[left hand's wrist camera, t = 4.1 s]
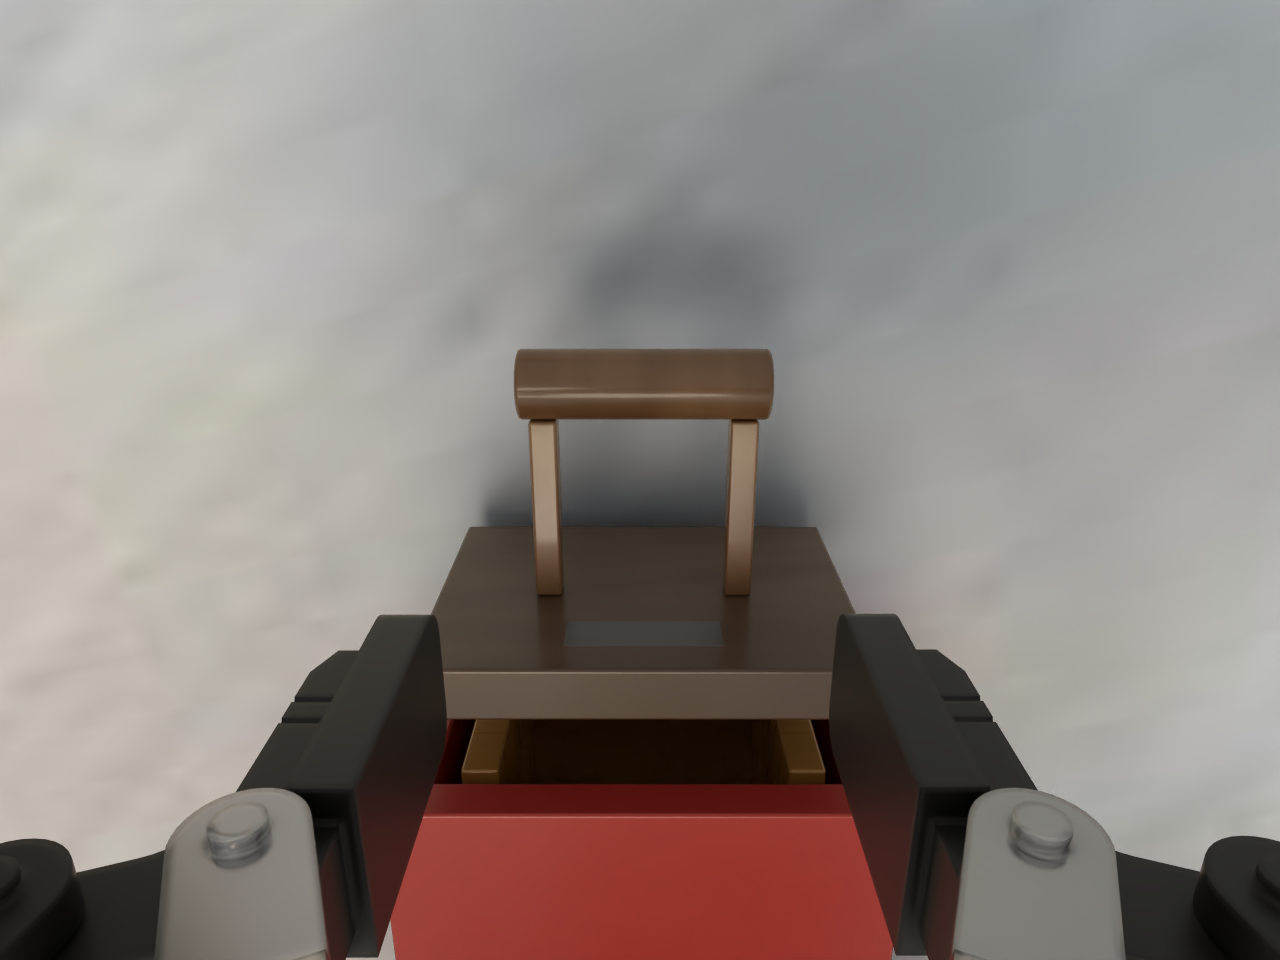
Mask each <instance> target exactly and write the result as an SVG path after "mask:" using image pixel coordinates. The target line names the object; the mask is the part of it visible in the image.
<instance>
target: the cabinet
mask: <svg viewBox="0 0 1280 960" xmlns="http://www.w3.org/2000/svg"><path fill="white" fill-rule="evenodd" d="M475 721H476V719H447V730H446V740H445V747H444V752H443V756H442V759H441V762H440V766H439V769H438V772H437V775H436V778H435V781H434V784H433V787H432V791H431V794H430V797H429V800H428V803H427V806H426V809H425V812H424V816H423V819H422V822H421V825H420V828H419V831H418V834H417V837H416V841H415V844H414V847H413V850H412V853H411V856H410V859H409V862H408V865H407V869H406V872H405V875H404V878H403V881H402V884H401V887H400V890H399V894H398V897H397V900H396V903H395V906H394V909H393V912H392V915H391V919H390V920H391V927H392V935H393V942H394V949H395V957H396V960H891V957H892V950H893V944H892V941H891V938H890V934H889V931H888V928H887V925H886V922H885V918H884V915H883V912H882V909H881V906H880V903H879V899H878V896H877V893H876V890H875V887H874V883H873V880H872V877H871V874H870V871H869V868H868V864H867V861H866V858H865V855H864V852H863V848H862V845H861V842H860V839H859V836H858V833H857V829H856V826H855V823H854V820H853V817H852V813H851V810H850V807H849V804H848V801H847V797H846V794H845V791H844V788H843V785H842V782H841V778H840V775H839V772H838V769H837V766H836V762H835V759H834V756H833V752H832V747H831V741H830V731H829V720H811V723H812V726H813V730H814V733H815V736H816V740H817V743H818V747H819V750H820V753H821V757H822V760H823V764H824V767H825V770H826V775H825V784H462V774H461V770H462V767H463V763H464V760H465V756H466V753H467V749H468V745H469V742H470V738H471V735H472V731H473V728H474V724H475Z"/></svg>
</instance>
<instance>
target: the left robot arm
mask: <svg viewBox="0 0 1280 960" xmlns="http://www.w3.org/2000/svg"><path fill="white" fill-rule="evenodd" d="M446 730H447V709H446V697H445V687H444V676H443V666H442V655H441V644H440V634H439V626H438V622H437V619H436V617H435V616H434V615H380V616H378V618H377V619H376V621H375V623H374V624H373V626H372V628H371V630H370V632H369V633H368V635H367V637H366V639H365V641H364V642H363V644H362V646H361V648H360V650H359V651H338V652H336V653H335V654H334V655H332V656H331V657H330V658H328V659H327V660H326V661H324V662H323V663H322V664H320V665H319V666H318V667H316V668H315V669H314V670H312V671H311V672H310V673H309V675H308V677H307V678H306V680H305V681H304V683H303V685H302V686H301V688H300V689H299V691H298V693H297V694H296V696H295V701H294V702H291V704H290V706H289V707H288V709H287V710H286V712H285V714H284V715H283V717H282V723H278V725H277V727H276V728H275V730H274V731H273V733H272V735H271V736H270V738H269V739H268V741H267V743H266V744H265V746H264V748H263V749H262V751H261V752H260V754H259V756H258V757H257V759H256V760H255V762H254V764H253V765H252V767H251V768H250V770H249V772H248V773H247V775H246V777H245V778H244V780H243V781H242V783H241V785H240V786H239V788H238V789H237V791H236V793H232V794H229V795H226V796H224V797H221V798H219V799H216V800H214V801H212V802H210V803H208V804H207V805H205V806H203V807H202V808H200V809H198V810H197V811H195V812H194V813H193V814H191V815H190V816H189V817H188V818H187V819H185V820H184V821H183V822H182V823H181V824H180V825H179V826H178V827H177V829H176V830H175V831H174V833H173V834H172V836H171V837H170V839H169V841H168V843H167V845H166V849H165V850H163V851H161V852H158V853H155V854H153V855H149V856H145V857H142V858H138V859H134V860H130V861H125V862H121V863H117V864H112V865H108V866H104V867H99V868H95V869H91V870H87V871H82V872H78V873H76V870H75V867H74V864H73V860H72V857H71V855H70V853H69V851H68V850H67V849H66V848H65V847H64V846H63V845H61V844H59V843H57V842H54V841H50V840H46V839H20V840H14V841H8V842H5V843H1V844H0V960H346V957H378V956H379V953H380V950H381V947H382V943H383V940H384V937H385V934H386V931H387V928H388V925H389V922H390V919H391V915H392V912H393V909H394V906H395V903H396V900H397V897H398V894H399V890H400V887H401V884H402V881H403V878H404V875H405V872H406V869H407V865H408V862H409V859H410V856H411V853H412V850H413V847H414V844H415V841H416V837H417V834H418V831H419V828H420V825H421V822H422V819H423V816H424V812H425V809H426V806H427V803H428V800H429V797H430V794H431V791H432V787H433V784H434V781H435V778H436V775H437V772H438V769H439V766H440V762H441V759H442V756H443V752H444V747H445V740H446ZM829 731H830V741H831V747H832V752H833V756H834V759H835V762H836V766H837V769H838V772H839V775H840V778H841V782H842V785H843V788H844V791H845V794H846V797H847V801H848V804H849V807H850V810H851V813H852V817H853V820H854V823H855V826H856V829H857V833H858V836H859V839H860V842H861V845H862V848H863V852H864V855H865V858H866V861H867V864H868V868H869V871H870V874H871V877H872V880H873V883H874V887H875V890H876V893H877V896H878V899H879V903H880V906H881V909H882V912H883V915H884V918H885V922H886V925H887V928H888V931H889V934H890V938H891V941H892V944H893V947H894V950H895V953H896V955H928V958H929V960H1280V842H1279V841H1275V840H1271V839H1267V838H1261V837H1255V836H1233V837H1228V838H1224V839H1221V840H1219V841H1217V842H1215V843H1213V844H1212V845H1211V846H1210V847H1209V848H1208V850H1207V852H1206V854H1205V857H1204V861H1203V864H1202V868H1201V871H1200V872H1199V871H1195V870H1190V869H1186V868H1182V867H1177V866H1173V865H1169V864H1164V863H1160V862H1156V861H1151V860H1147V859H1143V858H1138V857H1134V856H1131V855H1127V854H1123V853H1120V852H1117V851H1115V849H1114V845H1113V843H1112V841H1111V839H1110V837H1109V836H1108V834H1107V833H1106V831H1105V830H1104V829H1103V827H1102V826H1101V825H1100V824H1099V823H1098V822H1097V821H1096V820H1095V819H1093V818H1092V817H1091V816H1090V815H1089V814H1087V813H1086V812H1085V811H1083V810H1082V809H1080V808H1078V807H1077V806H1075V805H1073V804H1072V803H1070V802H1068V801H1066V800H1064V799H1061V798H1059V797H1056V796H1054V795H1051V794H1048V793H1044V792H1041V791H1038V790H1037V788H1036V787H1035V785H1034V784H1033V782H1032V780H1031V779H1030V777H1029V775H1028V774H1027V772H1026V770H1025V769H1024V767H1023V766H1022V764H1021V762H1020V761H1019V759H1018V757H1017V756H1016V754H1015V752H1014V751H1013V749H1012V748H1011V746H1010V744H1009V743H1008V741H1007V739H1006V738H1005V736H1004V734H1003V733H1002V731H1001V730H1000V728H999V726H998V725H997V723H996V722H993V716H992V715H991V713H990V712H989V710H988V708H987V707H986V705H985V703H984V702H983V701H980V695H979V694H978V692H977V690H976V689H975V687H974V685H973V684H972V682H971V680H970V679H969V677H968V676H967V674H966V672H965V671H964V670H963V669H961V668H960V667H959V666H957V665H956V664H955V663H953V662H952V661H951V660H949V659H948V658H947V657H945V656H944V655H943V654H941V653H940V652H939V651H938V650H916V649H915V647H914V645H913V643H912V641H911V640H910V638H909V636H908V634H907V632H906V630H905V629H904V627H903V625H902V623H901V621H900V619H899V618H898V616H897V615H896V614H841V615H840V617H839V620H838V623H837V630H836V640H835V651H834V661H833V672H832V683H831V694H830V705H829Z"/></svg>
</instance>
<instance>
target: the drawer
mask: <svg viewBox="0 0 1280 960" xmlns="http://www.w3.org/2000/svg"><path fill="white" fill-rule="evenodd" d="M773 394H774V368H773V359H772V355H771V352H770V351H769V350H767V349H520V350H518V352H517V354H516V358H515V366H514V397H515V406H516V411H517V414H518V417H519V418H520V419H530V421H529V424H528V428H529V449H530V470H531V491H532V512H533V527H470V528H469V530H468V532H467V534H466V536H465V539H464V541H463V543H462V545H461V548H460V550H459V552H458V554H457V557H456V559H455V561H454V563H453V566H452V568H451V570H450V573H449V575H448V577H447V579H446V582H445V584H444V586H443V588H442V591H441V593H440V595H439V597H438V600H437V602H436V604H435V606H434V609H433V611H432V613H431V615H434V616H435V617H436V619H437V622H438V626H439V634H440V644H441V655H442V666H443V676H444V687H445V697H446V709H447V719H476V721H475V724H474V728H473V731H472V735H471V738H470V742H469V745H468V749H467V753H466V756H465V760H464V763H463V767H462V770H461V774H462V784H825V775H826V770H825V767H824V764H823V760H822V757H821V753H820V750H819V747H818V743H817V740H816V736H815V733H814V730H813V726H812V723H811V720H829V705H830V694H831V683H832V672H833V661H834V651H835V640H836V630H837V623H838V620H839V617H840V615H841V614H856V613H855V611H854V609H853V607H852V604H851V602H850V600H849V598H848V596H847V594H846V591H845V589H844V587H843V585H842V583H841V580H840V578H839V576H838V574H837V572H836V569H835V567H834V565H833V563H832V561H831V558H830V556H829V554H828V552H827V550H826V547H825V545H824V543H823V541H822V539H821V537H820V534H819V532H818V530H817V528H816V527H754V517H755V498H756V478H757V459H758V439H759V422H758V420H757V419H767V418H769V416H770V414H771V410H772V405H773ZM558 419H729V428H728V454H727V480H726V506H725V527H562V507H561V478H560V449H559V420H558Z"/></svg>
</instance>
